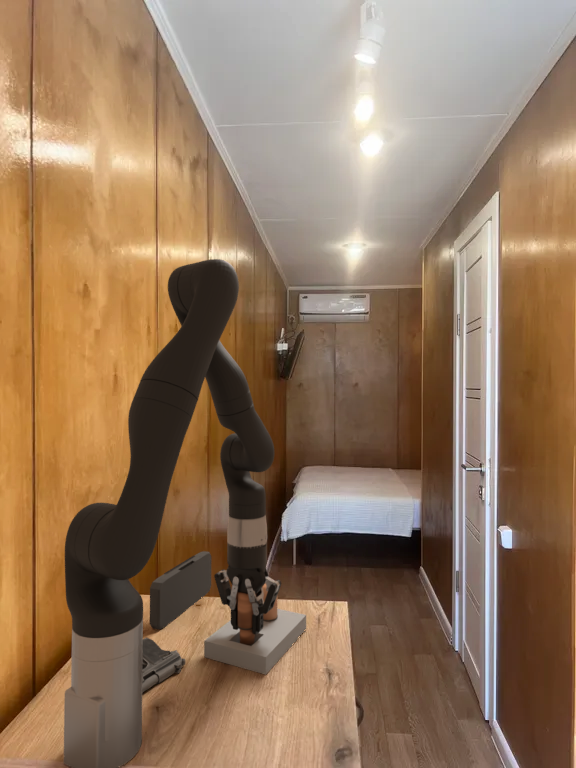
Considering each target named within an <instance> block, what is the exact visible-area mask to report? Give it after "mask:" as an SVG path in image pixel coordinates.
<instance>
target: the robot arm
mask: <svg viewBox="0 0 576 768" xmlns="http://www.w3.org/2000/svg"><path fill="white" fill-rule="evenodd" d="M239 284H240V283H239V277H238V274H237V272H236V269H235V267H234V266H233V265H232V264H231V263H230V262H228V261H226V260H224V259H221V258H219V259H218V258H216V259H215V258H213V259H212V258H211V259H205V260H201V261H197V262H194V263H193V262H192V263H187V264H185V265H182V266H178V267H176V268H175V269H174V270H173V271H172V272H171V273H170V275H169V277H168V281H167V293H168V297H169V301H170V304H171V306H172V309H173V311H174V313H175V316H176V318H177V320H178V322H179V323H180V328H179V329H178V330H177V332H176V333H175V335H173V337H172V338H171V339H170V340H169V341H168V342H167V344H166V345H165V346H163V348H162V349H161V350H160V351H159V352H158V354H157V355H156V356H155V357H154V358H153V359H152V361H151V362H150V363H149V364H148V366H147V367H146V369H145V371H144V373H143V374H142V375H141V378H140V381H139V383H138V386H137V388H136V390H135V393H134V396H133V398H132V401H131V404H130V407H129V411H128V417H127V420H128V421H127V425H128V426H127V428H128V429H127V430H128V440H129V442H128V443H129V449H130V458H129V459H130V462H129V469H128V474H127V476H126V480H125V483H124V484H123V485H124V486H123V488H122V490H121V493H120V497H119V499H118V501H117V503H116V504H115V503H114V504H113V503H109V502H108V503H107V502H95V503H91V504H90V503H89V504H88V505H86V506H84V507H83V508H81V509H80V510H79V511H78V512H77V513H76V514H75V515H74V517H73V519H72V520H71V522H70V524H69V526H68V528H67V532H66V535H65V536H66V537H65V540H64V541H65V543H64V583H65V599H66V600H65V601H66V605H67V609H68V611H69V613H70V616H71V665H70V666H71V667H70V668H71V671H70V674H71V676H70V677H71V679H70V682H71V683H70V687H68V688H67V689H66V690H65V691H64V707H63V708H64V709H63V710H64V711H63V715H64V717H63V721H64V722H63V724H64V725H63V764H64V765H66V766H69V767H70V768H121V767H122V766H124V765H125V764H127V763H128V762H129V761H131V759H133V758H134V757H135V756H136V755H137V753H138V752H139V750H140V749H141V747H142V741H143V740H142V739H143V738H142V737H143V693H142V656H143V639H144V638H143V637H144V636H143V635H144V634H143V633H144V632H143V631H144V601H143V597H142V595H141V593H140V592H139V591H138V590H137V589H136V588H135V587H134V585H133V584H132V583H131V581H130V579H132V578H134V577H135V576H137V575H138V574H139V573H140V572H141V571H142V570H143V569H144V568H145V566H146V565H147V564H148V562H149V560H150V559H151V556H152V555H153V552H154V550H155V547H156V545H157V541H158V537H159V534H160V529H161V526H162V520H163V517H164V512H165V508H166V504H167V499H168V494H169V491H170V488H171V487H170V486H171V484H172V479H173V476H174V473H175V470H176V466H177V463H178V459H179V456H180V453H181V449H182V446H183V443H184V440H185V437H186V434H187V432H188V430H189V428H190V427H189V426H190V425H191V422H192V418H193V415H194V412H195V410H196V407H197V404H198V401H199V397H200V393H201V390H202V387H203V383H204V381H205V380H206V383H207V385H208V388H209V393H210V395H211V400H212V403H213V406H214V409H215V413H216V417H217V419H218V422H219V424H220V425H221V426H222V427H223V428H225V429H227V430H231V431H232V432H234V433H231V434H229V435H227V436H226V437H225V439H224V440H223V442H222V445H221V447H220V454H219V455H220V456H219V457H220V458H219V459H220V465H221V469H222V473H223V477H224V478H223V479H224V482H225V486H226V488H227V489H226V490H227V492H228V522H227V534H226V536H227V537H226V539H227V542H226V543H227V552H226V553H227V559H226V561H227V563H226V564H227V565H228V566H227V568H226V569H221V570H220V571H218V572H216V573H215V574H214V575H213V576H214V577H213V578H214V580H215V584H216V587H217V591H218V596H219V598H220V600H221V601H220V603H221V604H222V605H223V606H226V605H227V606H228V607H229V609H230V620H231V625H232V626H233V629H235V630H238V629H239V628H238V627H237V624H238V592H241V593H245V594H248V596H249V601H250V603H251V604H252V608H253V613H254V614H253V615H252V634H255V635H257V634H258V633H259V632H260V631H261V630H262V629H263V614H267V613H268V611H270V610H271V609H272V608H273V606H274V603H275V601H276V598H277V595H279V592H280V589H281V586H282V582H281V581H282V580H280V579H277V580H274V579H273V578H272V577H270V576H269V573H268V571H267V562H268V525H267V517H266V514H267V513H266V512H267V511H266V510H267V509H266V502H267V501H266V500H267V499H266V495H267V493H266V489H265V487H264V486H263V485H262V484H260V483H259V482H257V481H255V480H254V479H253V478H252V476H251V473H263V472H266V471H267V470H268V469H270V468H271V467H272V465H273V463H274V459H275V446H274V442H273V439H272V437H271V435H270V433H269V431H268V429H267V428H266V426H265V425H264V422H263V420H262V419H261V418H260V416H259V414H258V413H257V411H256V408H255V405H254V401H253V397H252V393H251V391H250V387H249V383H248V380H247V377H246V376H245V374H244V372H243V370H242V369H241V367H240V366H239V364H238V363H237V361H236V360H235V359H234V358H233V357H232V355H231V354H230V353H229V352H228V350H227V349H226V348H225V346H224V345H223V344H222V342H221V338H222V335H223V333H224V331H225V329H226V327H227V324H228V322H229V320H230V319H231V315H233V314H232V313H233V312H234V309H235V306H236V304H237V301H238V297H239V296H238V295H239V291H240V290H239V289H240V285H239ZM250 472H251V473H250ZM230 583H231V584H230ZM265 583H266V586H267V587H266V591H268V593H267V596H266V598H265V601H264V600H263V597H264V592H263V585H264V584H265ZM231 585H232V586H231ZM256 593H257V595H255V594H256Z"/></svg>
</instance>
